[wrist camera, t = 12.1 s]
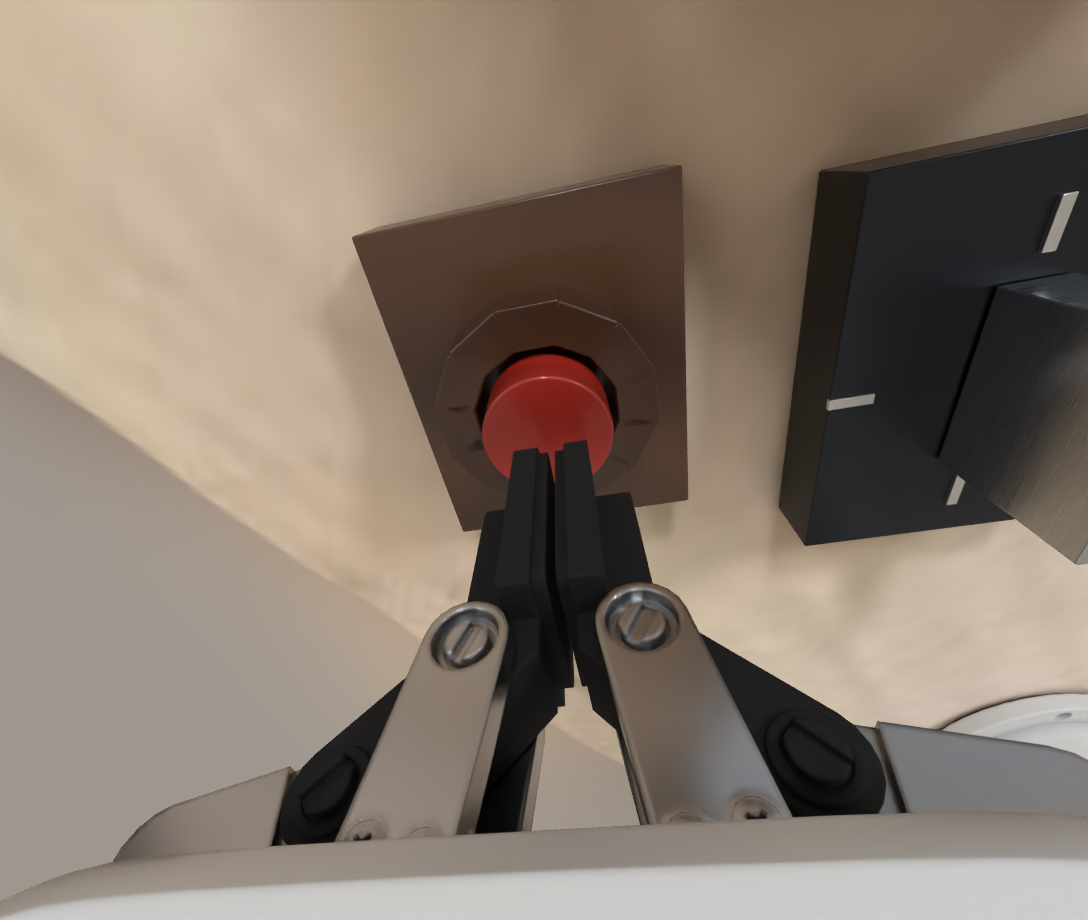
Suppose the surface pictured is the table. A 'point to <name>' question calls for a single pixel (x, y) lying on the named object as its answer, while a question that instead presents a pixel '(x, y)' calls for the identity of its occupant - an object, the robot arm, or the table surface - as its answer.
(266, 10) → the table surface
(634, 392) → the control block
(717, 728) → the robot arm
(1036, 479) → the rotary selector knob
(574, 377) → the button
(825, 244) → the tap console
